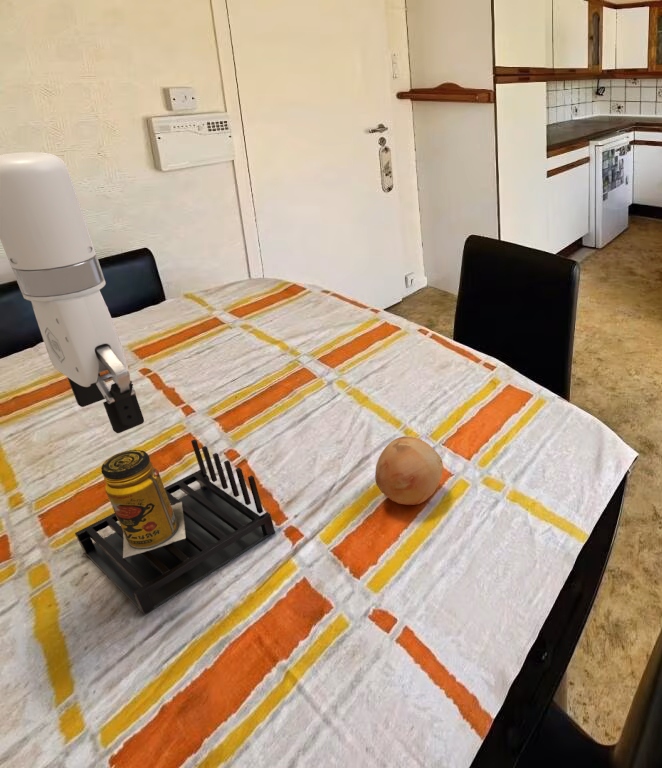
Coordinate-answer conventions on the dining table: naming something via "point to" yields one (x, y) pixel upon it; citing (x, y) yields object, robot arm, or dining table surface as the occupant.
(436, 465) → the onion
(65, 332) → the robot arm
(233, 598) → the dining table surface
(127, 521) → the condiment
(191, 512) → the dish rack
